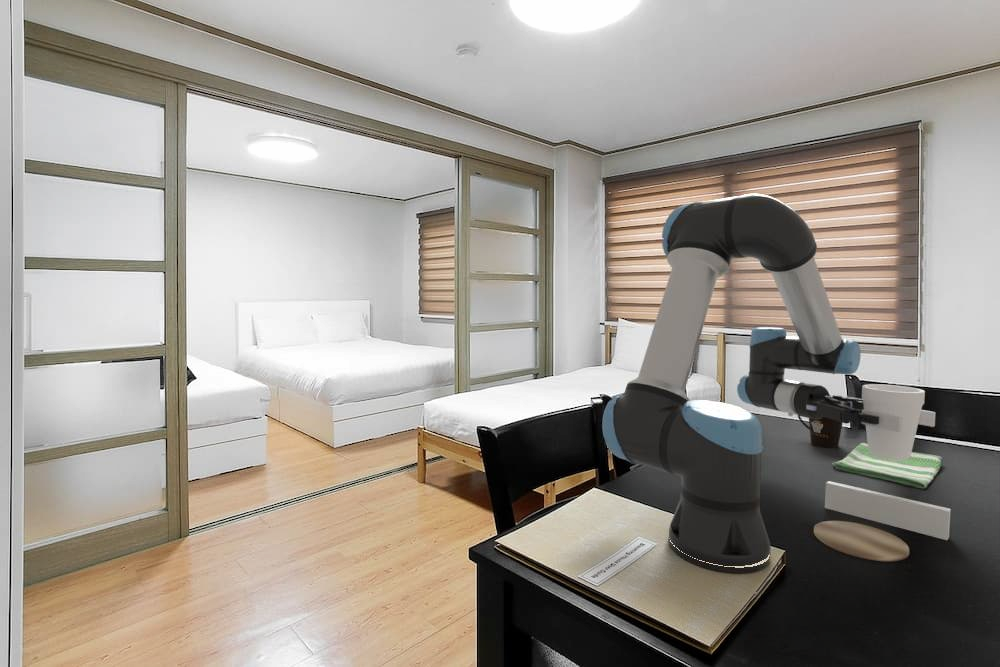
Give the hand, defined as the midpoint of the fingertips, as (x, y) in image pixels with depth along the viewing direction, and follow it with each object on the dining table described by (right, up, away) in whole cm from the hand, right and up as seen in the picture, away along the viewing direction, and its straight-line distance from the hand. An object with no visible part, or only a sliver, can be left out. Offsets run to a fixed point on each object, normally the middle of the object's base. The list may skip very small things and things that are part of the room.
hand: (917, 421), depth 93 cm
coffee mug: (+14, -15, +50) cm, 53 cm away
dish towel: (+17, -17, +30) cm, 38 cm away
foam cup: (-2, -7, +5) cm, 9 cm away
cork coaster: (-16, -19, -8) cm, 26 cm away
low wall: (-7, -18, 0) cm, 19 cm away
